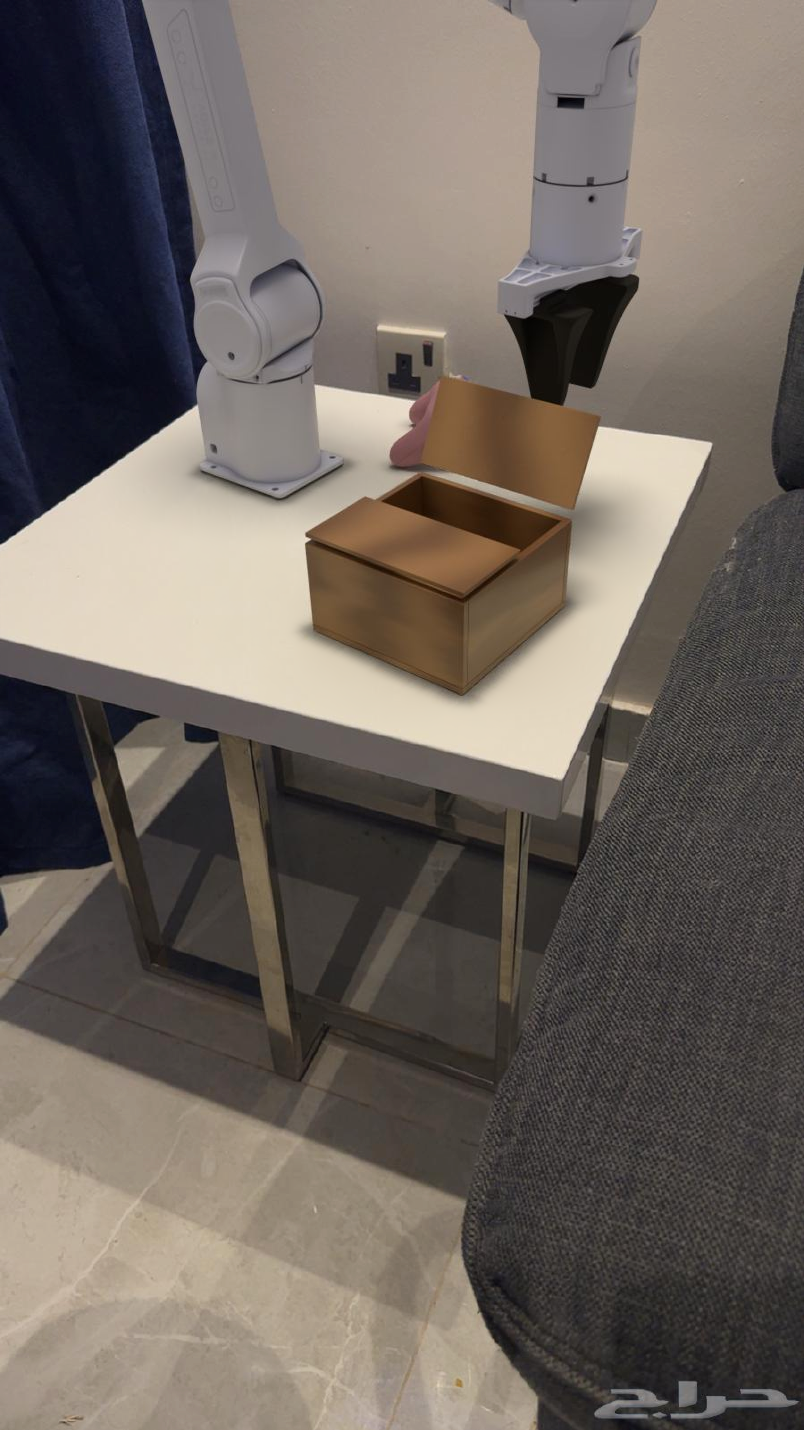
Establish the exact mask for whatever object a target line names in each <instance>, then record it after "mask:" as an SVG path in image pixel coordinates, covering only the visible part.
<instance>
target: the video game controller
mask: <svg viewBox="0 0 804 1430" xmlns="http://www.w3.org/2000/svg"><path fill="white" fill-rule="evenodd" d="M446 376H447V377H451V378H455V379H459V380H463V381H467V382H471V383H473V382H472V381H470V380H469V378H467V377H466V376H463V377H462V375H461V374H458V375H454V374H453V373H452V372H451V371H449V373H448V375H446ZM439 384H440V380H438V381H436V383H435V384H433V386H432V387H431V389H430V390H429V391H427V392H426V393H425V394H423V395H421V396H420V397H419V398H418V399H416V400H415V401H414V402H413V404H412V405H411V406H410V408H409V411H408V417H409V421H410V422H411V423H412V424H413V425H415V426H414V427H413V428H412V429H410V430H409V431H408V432H406V433H405V434H403V435H402V436H401V437H399V438H398V439H397V440H396V441H395V442H393V444H392V446H391V447H390V450H389V460H390V461H391V463H392V464H393V465H394V466H396V467H400V468H404V467H413V466H416V465H419V464H422V463H421V458H422V454H423V450H424V446H425V442H426V438H427V434H428V429H429V425H430V421H431V417H432V413H433V409H434V404H435V400H436V396H437V392H438V388H439Z"/></svg>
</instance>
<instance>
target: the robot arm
mask: <svg viewBox="0 0 804 1430" xmlns="http://www.w3.org/2000/svg"><path fill="white" fill-rule="evenodd" d="M141 2H142V6H143V10H144V14H145V17H146V21H147V24H148V28H149V32H150V36H151V40H152V43H153V47H154V51H155V53H156V54H155V55H156V58H157V63H158V66H159V69H160V70H159V71H160V73H161V78H162V80H163V84H164V88H165V93H166V96H167V100H168V104H169V107H170V111H171V116H172V119H173V122H174V126H175V130H176V134H177V137H178V138H177V139H178V141H179V142H178V143H179V145H180V149H181V153H182V156H183V160H184V163H185V164H184V165H185V167H186V172H187V176H188V179H189V182H190V186H191V190H192V193H193V198H194V201H195V205H196V209H197V212H198V213H197V214H198V216H199V220H200V224H201V228H202V232H203V235H204V242H203V245H202V248H201V250H200V253H199V255H198V257H197V260H196V262H195V263H194V264H195V265H194V267H193V269H192V271H191V275H190V278H189V282H190V286H191V289H192V292H193V297H194V314H193V315H194V316H193V331H194V336H195V339H196V343H197V345H198V348H199V351H201V354H202V355H203V357H204V358H205V359H206V362H205V363H204V364H203V366H202V368H201V370H200V373H199V375H198V379H197V383H196V392H195V393H196V403H197V408H198V409H197V410H198V415H199V422H200V428H201V434H202V441H203V445H204V446H203V447H204V453H205V459H206V460H204V461H202V462H200V463H199V469H200V471H203V472H205V473H208V474H210V475H214V476H216V477H219V478H221V479H225V480H227V481H230V482H233V483H235V484H238V485H240V486H244V487H246V488H249V489H251V490H254V491H257V492H260V493H263V494H266V495H269V496H271V497H274V498H277V499H283V498H285V497H288V496H289V495H290V494H293V493H294V492H295V491H298V490H300V489H301V488H304V486H307V485H308V484H310V483H312V482H314V481H315V480H317V479H319V478H321V477H322V476H324V475H326V474H327V473H329V472H331V471H333V470H334V469H337V468H339V467H340V466H341V465H343V464H344V458H343V457H342V456H339V455H336V454H333V453H331V452H330V453H329V452H326V451H324V450H321V446H320V432H319V422H318V421H319V419H318V409H317V397H316V386H315V385H316V384H315V373H314V363H313V360H314V359H313V354H314V353H315V343H314V338H315V337H316V336H317V335H318V334H319V333H320V331H321V330H322V328H323V327H324V325H325V321H326V316H327V303H326V297H325V293H324V291H323V288H322V286H321V284H320V282H319V281H318V279H317V278H316V276H315V274H314V273H313V272H312V270H311V268H310V265H309V263H308V261H307V257H306V253H305V250H304V249H305V248H304V245H303V242H302V241H301V240H300V239H298V238H297V236H295V235H294V234H293V233H292V232H291V231H289V230H288V229H287V228H286V227H285V226H283V224H282V223H280V221H279V217H278V213H277V207H276V203H275V198H274V195H273V190H272V186H271V181H270V177H269V173H268V168H267V164H266V159H265V155H264V151H263V146H262V142H261V136H260V133H259V129H258V124H257V120H256V115H255V111H254V107H253V102H252V97H251V94H250V93H251V92H250V89H249V85H248V79H247V75H246V71H245V67H244V63H243V58H242V54H241V49H240V45H239V39H238V36H237V31H236V27H235V22H234V18H233V13H232V10H231V5H230V0H141ZM487 2H489V3H490V4H493V5H494V6H496V7H498V8H500V10H503V11H505V12H506V13H508V14H510V15H511V16H513V17H515V18H516V19H518V20H520V21H526V22H525V23H526V25H527V28H528V31H529V33H530V35H531V37H532V39H533V41H534V42H535V44H536V45H537V47H538V49H539V64H538V65H539V66H538V82H537V83H538V85H537V91H536V107H535V109H536V110H535V131H534V149H533V168H532V169H533V170H532V191H531V192H532V193H531V207H530V208H531V211H530V227H529V228H530V231H529V247H528V249H527V251H526V252H525V253H524V255H522V257H521V258H520V260H519V261H518V262H517V264H516V265H515V266H514V267H513V269H512V270H511V272H509V273H508V274H507V275H506V276H504V277H502V278H501V279H498V280H497V281H498V282H497V309H496V311H497V314H500V315H501V314H502V315H503V316H504V318H505V320H506V321H507V323H508V325H509V327H510V329H511V331H512V333H513V335H514V338H515V340H516V342H517V345H518V348H519V352H520V354H521V358H522V361H523V365H524V370H525V375H526V380H527V386H528V389H529V396H530V398H532V399H536V400H540V401H544V402H548V403H552V404H556V405H560V406H563V407H564V404H565V402H566V399H567V395H568V392H569V387H570V385H574V386H578V387H581V388H582V387H583V388H585V389H590V390H591V389H593V388H594V387H596V385H597V383H598V380H599V378H600V375H601V372H602V370H603V366H604V363H605V360H606V357H607V354H608V351H609V348H610V345H611V342H612V340H613V337H614V334H615V332H616V329H617V327H618V325H619V323H620V321H621V319H622V317H623V314H624V313H625V312H626V309H627V307H628V306H629V304H630V303H631V301H632V300H633V298H634V297H635V295H636V294H637V292H638V290H639V286H640V277H639V276H638V275H636V274H633V273H634V272H636V271H637V267H638V266H637V265H638V260H640V255H641V250H642V249H641V248H642V239H643V228H638V227H632V226H626V225H625V218H626V206H627V200H628V199H627V198H628V186H629V177H630V169H631V159H632V149H633V141H634V140H633V139H634V131H635V122H636V121H635V120H636V111H637V103H638V101H637V100H638V90H639V89H638V77H639V76H638V75H639V65H640V57H641V56H640V55H641V46H642V36H641V35H638V36H636V35H637V34H638V33H639V32H640V31H641V30H642V29H643V28H644V27H645V26H646V25H647V23H648V21H649V20H650V18H651V17H652V15H653V13H654V11H655V8H656V6H657V2H658V0H487ZM635 36H636V37H635Z"/></svg>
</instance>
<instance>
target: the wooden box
mask: <svg viewBox="0 0 804 1430" xmlns="http://www.w3.org/2000/svg"><path fill="white" fill-rule="evenodd" d="M572 528H573V519H572V518H568V517H565V516H562V515H558V514H555V513H553V512H549V511H546V510H543V509H540V508H537V507H535V506H530V505H527V504H524V503H521V502H518V501H515V500H512V499H508V498H505V497H502V496H499V495H497V494H493V493H490V492H487V491H484V490H482V489H481V490H480V489H478V488H474V487H472V486H468V485H465V484H462V483H458V482H455V481H452V480H449V479H446V478H442V477H441V476H436V475H434V474H430V473H427V472H425V471H419V472H418V473H416V474H414V475H413V476H411V477H410V478H408V479H406V480H405V481H403V482H402V483H400V484H398V485H396V486H395V487H393V488H391V489H390V490H388V491H387V492H385V493H383V494H382V495H380V496H378V497H377V498H376V499H374V498H371V497H368V496H366V495H365V496H363V497H362V498H359V499H358V500H356V501H355V502H353V503H352V504H350V505H348V506H346V507H345V508H342V509H341V510H339V512H337V513H335V514H333V515H332V516H330V517H329V518H327V519H324V521H322V522H320V523H319V524H317V525H316V526H314V527H312V528H310V529H309V530H307V531H306V532H305V533H304V536H305V538H307V539H310V540H308V541H306V542H305V543H304V548H305V549H304V550H305V560H306V568H307V581H308V589H309V590H308V592H309V600H310V601H309V602H310V610H311V621H312V630H313V631H315V632H317V633H320V634H322V635H325V636H326V637H329V638H331V639H333V640H336V641H338V642H340V643H343V644H344V645H347V646H350V647H352V648H354V649H356V650H359V651H361V652H363V653H365V654H367V655H370V656H372V657H374V658H376V659H378V660H381V661H383V662H386V663H388V664H390V665H392V666H395V667H398V668H400V669H401V670H404V671H407V672H409V673H411V674H412V675H415V676H417V677H420V678H422V679H425V680H426V681H429V682H432V683H433V684H436V685H437V686H440V687H443V688H445V689H447V690H450V691H452V692H454V693H456V694H459V695H461V696H463V695H464V694H466V692H468V691H469V690H470V689H472V688H473V686H475V685H476V684H477V683H479V681H480V680H482V679H483V678H484V677H485V676H486V675H487V674H488V673H490V672H491V671H492V670H494V668H496V667H497V666H498V665H499V664H500V663H501V662H502V661H504V659H506V657H508V656H509V655H510V654H511V653H513V652H514V651H515V650H516V649H518V648H519V646H520V645H522V644H523V643H524V642H526V640H528V639H529V638H530V637H531V636H532V635H533V634H535V633H536V632H537V631H538V630H539V629H540V628H541V627H543V626H544V625H546V623H547V622H548V621H549V620H551V618H553V617H554V616H555V615H556V614H558V613H559V611H561V610H562V609H563V608H564V607H566V598H567V597H566V596H567V588H568V587H567V586H568V575H569V565H570V564H569V563H570V553H571V552H570V551H571V539H572Z"/></svg>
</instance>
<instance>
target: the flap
mask: <svg viewBox="0 0 804 1430" xmlns="http://www.w3.org/2000/svg"><path fill="white" fill-rule="evenodd" d="M447 376H448V375H443V374H442V375H440V380H439V381H440V384H439V388H438V392H437V396H436V400H435V404H434V409H433V413H432V417H431V421H430V425H429V429H428V434H427V438H426V442H425V446H424V450H423V454H422V458H421V463H420V464H424V465H426V466H429V467H430V466H431V467H433V468H436V469H439V470H443V471H446V472H449V473H452V474H455V475H458V476H462V477H465V478H468V479H471V480H474V481H478V482H481V483H485V484H488V485H491V486H494V487H497V488H500V489H503V490H506V491H510V492H513V493H516V494H520V495H523V496H526V497H529V498H532V499H536V500H538V501H542V502H545V503H548V504H551V505H555V506H558V507H561V508H564V509H567V510H571V511H574V510H575V509H576V504H577V501H578V497H579V495H580V490H581V487H582V485H583V481H584V477H585V473H586V470H587V467H588V463H589V459H590V456H591V453H592V450H593V446H594V443H595V440H596V437H597V433H598V429H599V426H600V422H601V419H602V416H601V415H598V414H595V413H590V412H588V411H587V412H586V411H582V410H579V409H575V408H571V407H567V406H564V405H563V406H560V405H556V404H552V403H548V402H544V401H540V400H536V399H532V398H531V397H530V396H529V397H528V396H525V395H522V394H521V395H520V394H517V393H512V392H508V391H505V390H501V389H497V388H493V387H489V386H485V385H483V384H479V383H475V382H472V381H470V382H467V381H463V380H459V379H455V378H451V377H447ZM471 382H472V383H471Z"/></svg>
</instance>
